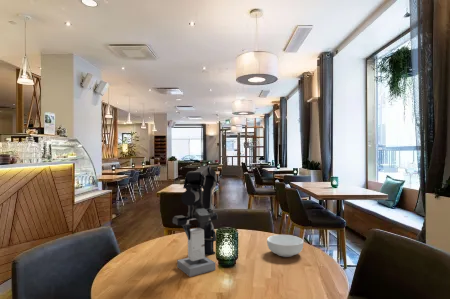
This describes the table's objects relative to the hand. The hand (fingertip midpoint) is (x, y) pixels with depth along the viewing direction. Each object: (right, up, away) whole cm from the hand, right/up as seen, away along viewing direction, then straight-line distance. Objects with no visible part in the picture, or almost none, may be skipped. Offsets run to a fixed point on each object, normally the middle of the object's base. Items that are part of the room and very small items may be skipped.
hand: (195, 238), depth 121 cm
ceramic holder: (0, -13, 0) cm, 13 cm away
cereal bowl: (+41, -13, +16) cm, 46 cm away
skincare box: (0, -9, 0) cm, 9 cm away
